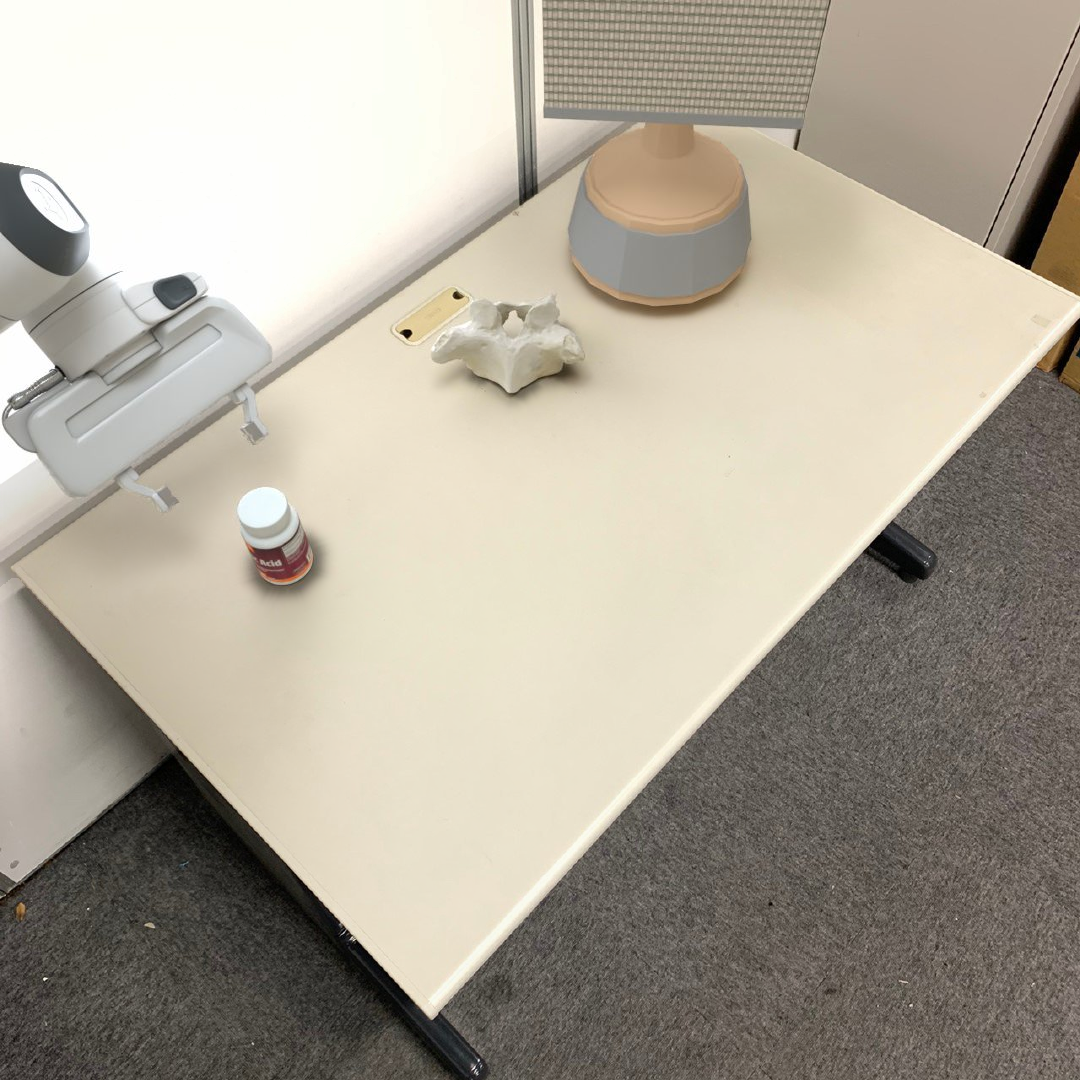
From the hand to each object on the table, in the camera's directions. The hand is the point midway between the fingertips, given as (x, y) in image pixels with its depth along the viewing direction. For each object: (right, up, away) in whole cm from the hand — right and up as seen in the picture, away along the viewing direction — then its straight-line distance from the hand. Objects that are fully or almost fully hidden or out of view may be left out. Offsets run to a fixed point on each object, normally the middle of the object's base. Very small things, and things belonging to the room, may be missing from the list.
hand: (217, 473), depth 83 cm
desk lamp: (+39, +24, +23) cm, 52 cm away
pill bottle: (+5, -8, +3) cm, 10 cm away
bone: (+26, +11, +15) cm, 31 cm away
